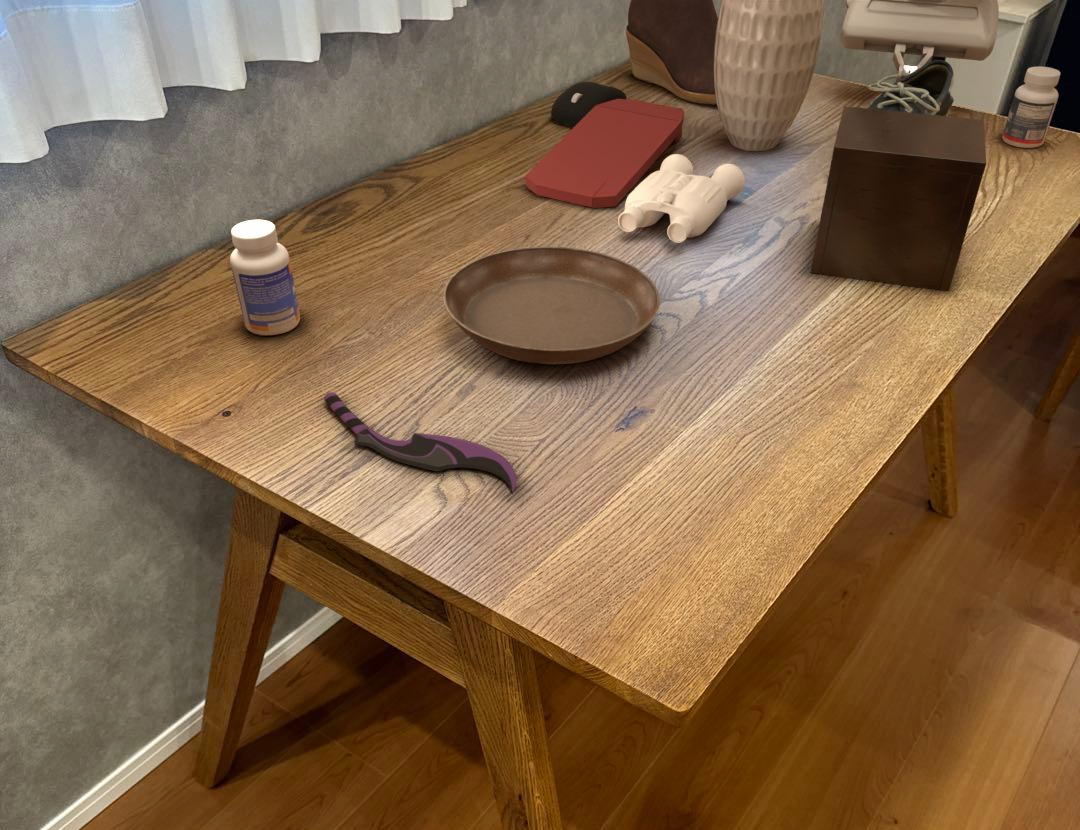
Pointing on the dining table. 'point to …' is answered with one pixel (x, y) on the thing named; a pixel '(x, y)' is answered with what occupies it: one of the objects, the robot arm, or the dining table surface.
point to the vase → (764, 66)
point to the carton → (606, 153)
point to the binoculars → (681, 198)
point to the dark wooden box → (899, 197)
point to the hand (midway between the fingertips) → (907, 81)
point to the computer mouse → (582, 101)
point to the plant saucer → (551, 303)
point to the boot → (674, 46)
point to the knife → (426, 447)
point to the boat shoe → (917, 91)
